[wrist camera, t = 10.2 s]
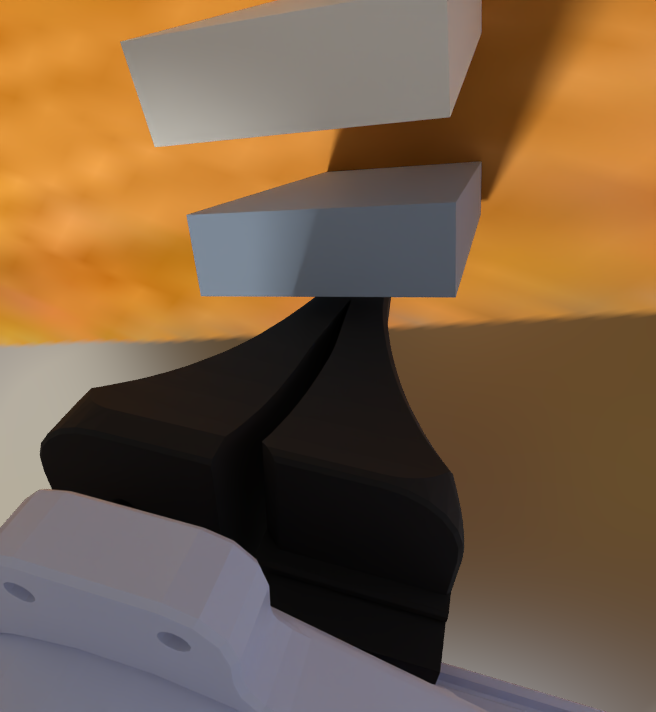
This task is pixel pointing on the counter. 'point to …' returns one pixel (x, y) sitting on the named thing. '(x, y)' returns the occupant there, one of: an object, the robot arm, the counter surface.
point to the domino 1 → (304, 67)
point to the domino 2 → (343, 235)
